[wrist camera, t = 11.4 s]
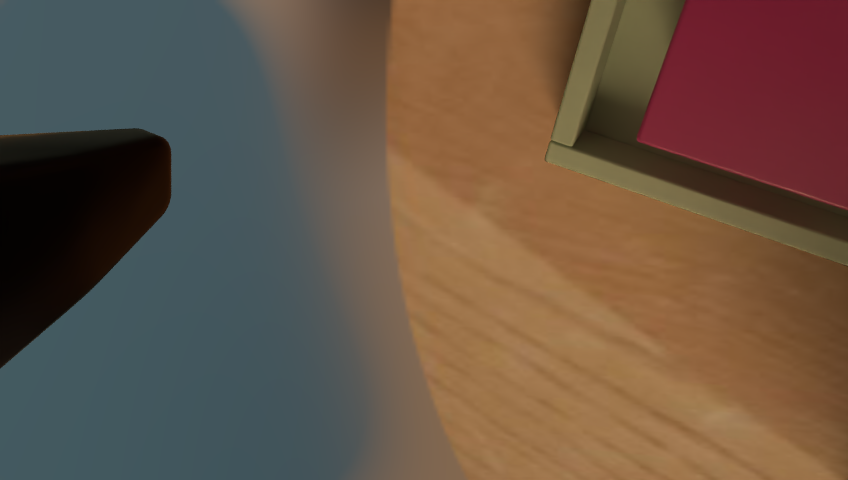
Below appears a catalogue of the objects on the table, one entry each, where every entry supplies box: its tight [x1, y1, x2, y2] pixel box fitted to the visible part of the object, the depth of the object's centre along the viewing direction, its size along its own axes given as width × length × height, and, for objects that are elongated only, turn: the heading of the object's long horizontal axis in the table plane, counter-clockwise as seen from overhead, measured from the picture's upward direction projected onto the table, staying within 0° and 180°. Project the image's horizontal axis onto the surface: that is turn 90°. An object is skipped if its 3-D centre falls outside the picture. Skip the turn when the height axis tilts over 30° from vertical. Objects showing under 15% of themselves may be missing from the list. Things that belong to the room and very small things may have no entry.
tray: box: [545, 0, 848, 266], centre depth 17 cm, size 10×9×2 cm
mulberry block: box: [637, 0, 848, 211], centre depth 15 cm, size 5×5×5 cm
